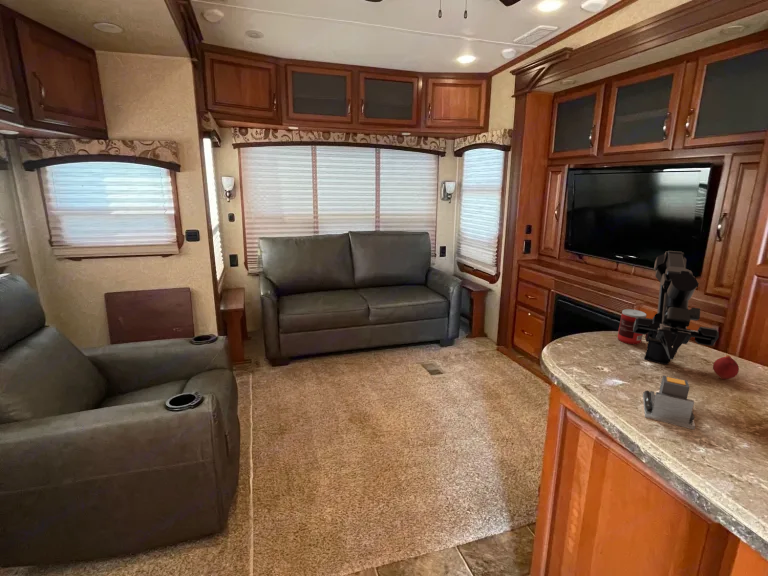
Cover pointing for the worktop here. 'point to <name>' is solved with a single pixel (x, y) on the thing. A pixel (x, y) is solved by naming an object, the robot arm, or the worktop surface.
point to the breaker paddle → (674, 387)
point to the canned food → (629, 326)
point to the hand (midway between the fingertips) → (671, 358)
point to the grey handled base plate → (669, 409)
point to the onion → (726, 367)
